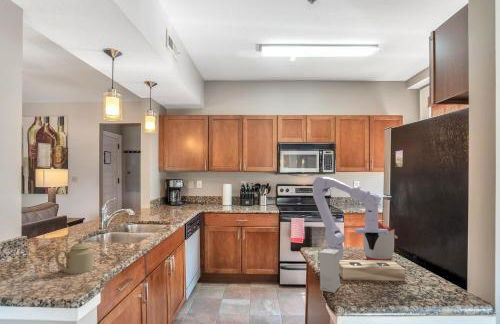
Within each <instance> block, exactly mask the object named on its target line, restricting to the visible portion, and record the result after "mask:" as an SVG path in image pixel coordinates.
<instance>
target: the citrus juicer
mask: <svg viewBox="0 0 500 324" xmlns="http://www.w3.org/2000/svg"><path fill="white" fill-rule="evenodd" d="M361 228H365V225H363V226H362V227H361ZM378 229H387V230H388V234H378V235H379V237H378V239H377V241H376V243H375V246H374V250H371V249H369V244H368V241H367V238H366V236H365V234H364V233H362V240H363V241H362V247H363V252H364V256H365V260H379V261H392V259H393V256H394V250H395V239H398V238H399V237H398V236H397V235H396V229H395V228H394V229H391V227H390V226H387V225H386V226H385V225H383V224H382V223H381V222H380V221H378Z"/></svg>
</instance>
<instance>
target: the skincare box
mask: <svg viewBox="0 0 500 324" xmlns="http://www.w3.org/2000/svg"><path fill="white" fill-rule="evenodd" d="M340 277H341V276H340V268H339V250H334V249H327V248H325V249H322V251H320V252H319V280H320V281H319V283H320V284H319V286H320V287H319V288H320V291H324V292H328V293H333V294H334V293H336V292H337V290H338V289H340V287H341V278H340Z"/></svg>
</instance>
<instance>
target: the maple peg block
mask: <svg viewBox="0 0 500 324" xmlns="http://www.w3.org/2000/svg"><path fill="white" fill-rule="evenodd" d="M351 263H358V264H360V266H352V265H351ZM379 263H383V264H387V265H388V266H379V265H378V264H379ZM339 268H340V277H341V278H342V280H343V281H395V282H396V281H399V282H403V281H404V282H405V281H406V268H405V267H403V266H401V265H400V264H398V263H397V262H396V261H394V260H391V261H379V260H367V259H365V260H363V259H362V260H361V259H360V260H359V259H353V260H352V259H343V260H339Z"/></svg>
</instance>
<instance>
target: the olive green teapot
mask: <svg viewBox="0 0 500 324" xmlns="http://www.w3.org/2000/svg"><path fill="white" fill-rule="evenodd" d="M83 241H84V240H83V238H82V237H79V238H78V240H77V242H78V243H76V244H73V245H72V246H71V247H69V251H68V252H67V250H65V249H60V250H58V251H57V252H56V253H55V256H54V259H55V260H54V261H55V262H56V265H58V267H60V268H62V269H64V270H65V272H66V274H69V275H79V274H80V275H81V274H85V272H86V273H89V272H91V271H93V269H94V250H93V249H91V245H89V244H88V243H84V242H83ZM61 253H64V255H65V265H63V264H61V263H60V260H59V257H60V254H61ZM90 270H91V271H90ZM88 271H89V272H88Z"/></svg>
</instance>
